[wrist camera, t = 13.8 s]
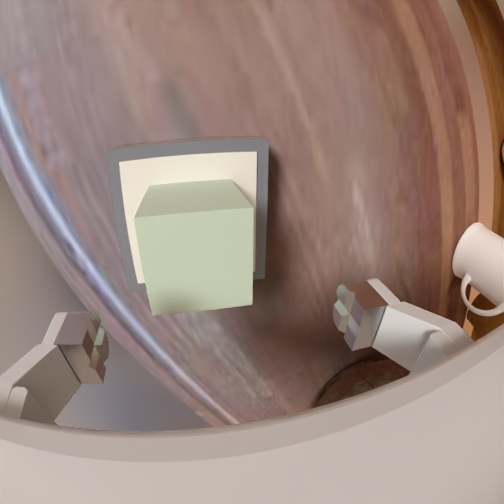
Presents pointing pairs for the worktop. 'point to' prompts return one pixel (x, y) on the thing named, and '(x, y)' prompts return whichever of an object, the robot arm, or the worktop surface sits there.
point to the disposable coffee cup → (484, 322)
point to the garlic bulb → (503, 152)
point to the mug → (481, 266)
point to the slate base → (186, 170)
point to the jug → (361, 379)
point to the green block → (196, 246)
